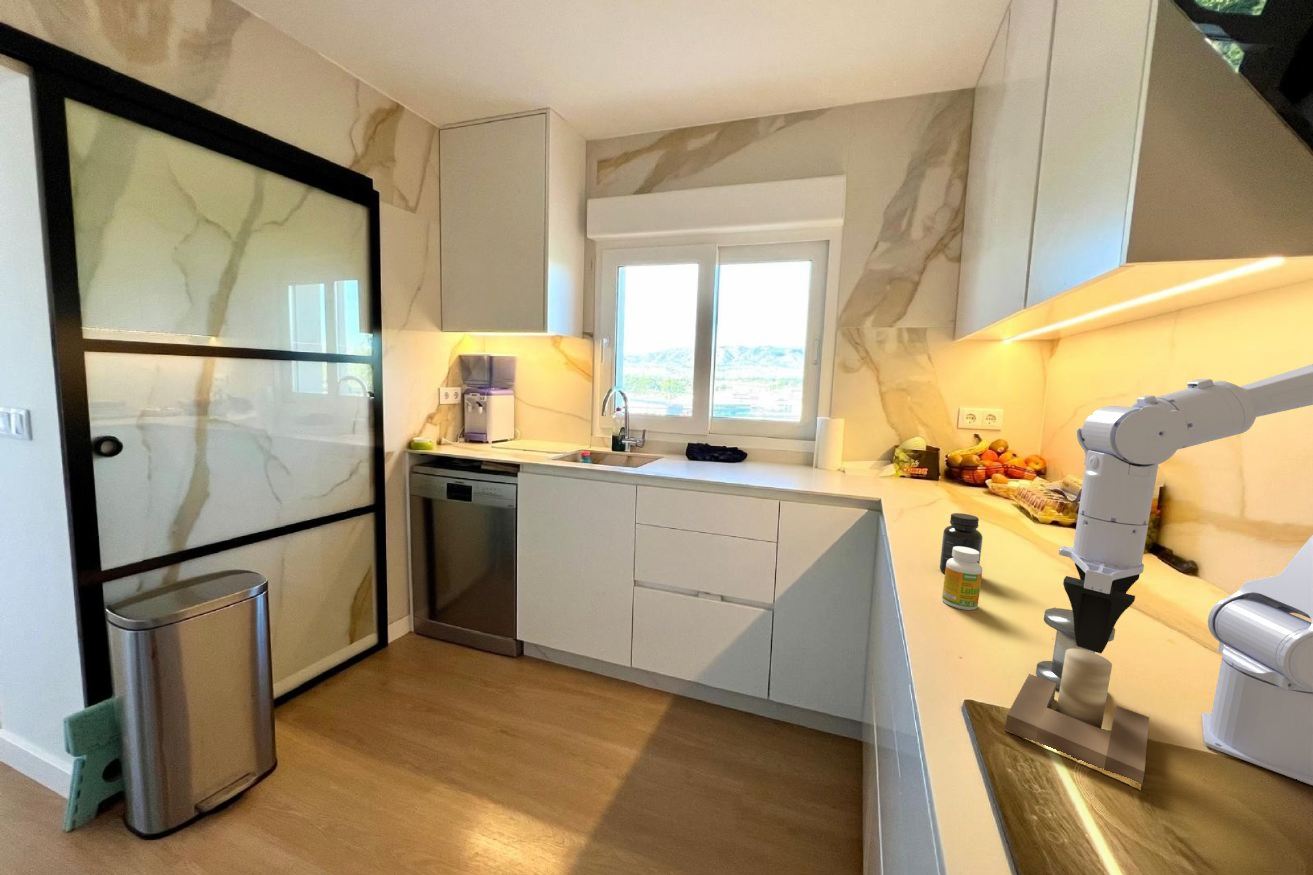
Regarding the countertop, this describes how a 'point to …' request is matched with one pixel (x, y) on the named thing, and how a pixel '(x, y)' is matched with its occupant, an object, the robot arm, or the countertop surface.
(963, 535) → the supplement bottle
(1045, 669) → the bobbin post
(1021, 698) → the notched board
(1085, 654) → the beige banded cylinder
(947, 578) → the supplement bottle
